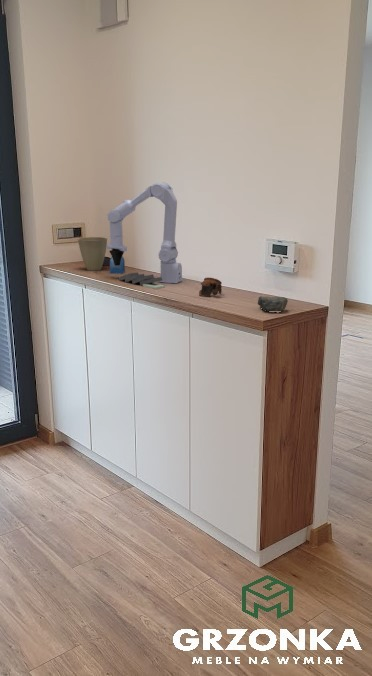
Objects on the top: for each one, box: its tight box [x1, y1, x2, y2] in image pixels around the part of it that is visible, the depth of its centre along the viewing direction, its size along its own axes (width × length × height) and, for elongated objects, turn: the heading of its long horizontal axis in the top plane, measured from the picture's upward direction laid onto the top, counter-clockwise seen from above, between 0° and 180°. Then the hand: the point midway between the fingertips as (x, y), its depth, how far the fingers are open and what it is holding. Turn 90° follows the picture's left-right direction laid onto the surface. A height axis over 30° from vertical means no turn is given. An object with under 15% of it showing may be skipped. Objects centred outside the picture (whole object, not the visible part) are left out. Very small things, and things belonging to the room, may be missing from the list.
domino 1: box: [118, 272, 139, 281], centre depth 271 cm, size 2×5×9 cm
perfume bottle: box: [109, 248, 126, 275], centre depth 294 cm, size 6×6×12 cm
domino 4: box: [139, 276, 162, 286], centre depth 260 cm, size 2×5×9 cm
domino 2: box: [124, 273, 145, 283], centre depth 267 cm, size 2×5×9 cm
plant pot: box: [77, 236, 108, 271], centre depth 303 cm, size 15×15×16 cm
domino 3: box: [132, 274, 155, 285], centre depth 263 cm, size 2×5×9 cm
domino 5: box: [142, 282, 166, 290], centre depth 258 cm, size 2×5×9 cm
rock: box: [257, 295, 288, 312], centre depth 214 cm, size 12×10×5 cm
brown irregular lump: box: [198, 277, 223, 298], centre depth 239 cm, size 12×10×8 cm
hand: (117, 265), depth 277 cm, fingers closed
